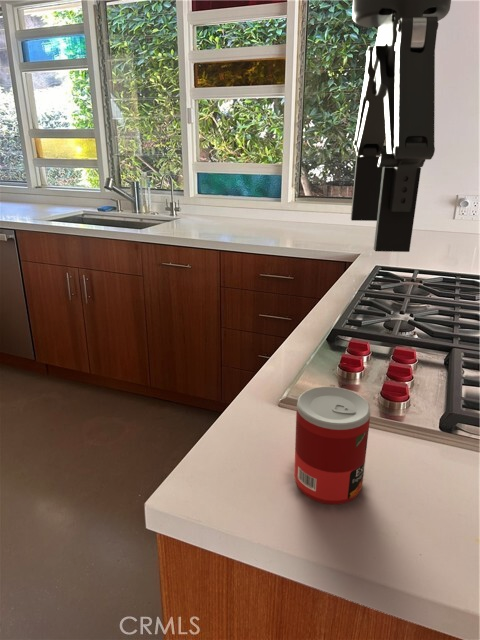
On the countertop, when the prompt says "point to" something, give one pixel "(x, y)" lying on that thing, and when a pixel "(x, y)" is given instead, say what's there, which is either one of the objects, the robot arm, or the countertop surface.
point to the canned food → (331, 444)
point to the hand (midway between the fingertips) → (375, 233)
